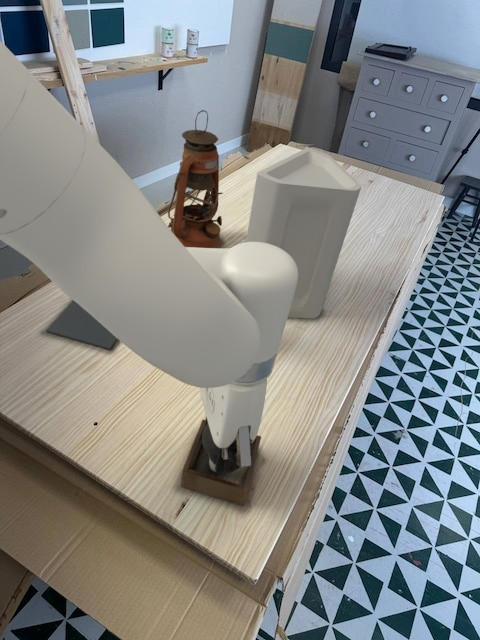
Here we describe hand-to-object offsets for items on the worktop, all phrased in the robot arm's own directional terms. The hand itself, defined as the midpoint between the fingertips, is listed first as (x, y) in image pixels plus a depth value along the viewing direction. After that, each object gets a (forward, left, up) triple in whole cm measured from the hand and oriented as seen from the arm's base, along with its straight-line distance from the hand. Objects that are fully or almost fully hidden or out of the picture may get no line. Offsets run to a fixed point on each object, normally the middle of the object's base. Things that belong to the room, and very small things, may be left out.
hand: (221, 447), depth 62 cm
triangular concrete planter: (+43, -3, -6) cm, 44 cm away
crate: (0, 0, -6) cm, 6 cm away
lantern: (+56, +22, -6) cm, 61 cm away
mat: (+23, +30, -6) cm, 38 cm away
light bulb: (0, 0, -5) cm, 5 cm away
